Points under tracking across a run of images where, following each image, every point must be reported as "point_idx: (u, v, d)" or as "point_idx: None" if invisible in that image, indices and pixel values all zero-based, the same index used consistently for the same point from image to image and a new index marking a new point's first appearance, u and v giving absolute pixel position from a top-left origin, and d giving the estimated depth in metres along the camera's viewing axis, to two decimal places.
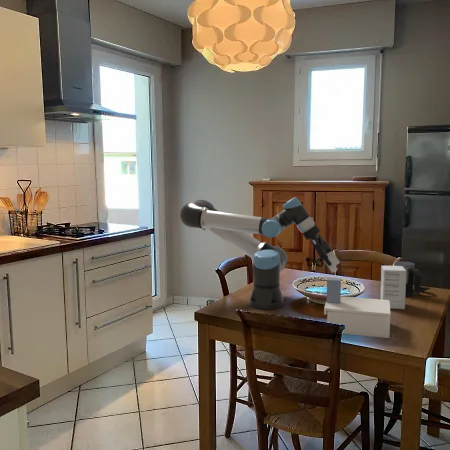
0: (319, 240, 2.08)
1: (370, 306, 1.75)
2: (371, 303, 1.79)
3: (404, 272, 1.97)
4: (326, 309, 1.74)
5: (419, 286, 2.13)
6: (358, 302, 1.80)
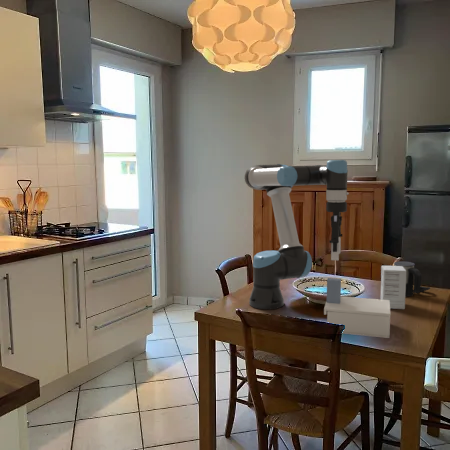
0: (339, 220, 1.75)
1: (370, 306, 1.75)
2: (371, 303, 1.79)
3: (404, 272, 1.97)
4: (326, 309, 1.74)
5: (419, 286, 2.13)
6: (358, 302, 1.80)
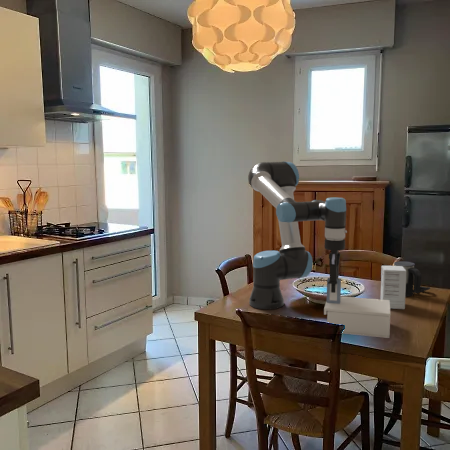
0: (337, 259, 1.76)
1: (370, 306, 1.75)
2: (371, 303, 1.79)
3: (404, 272, 1.97)
4: (326, 309, 1.74)
5: (419, 286, 2.13)
6: (358, 302, 1.80)
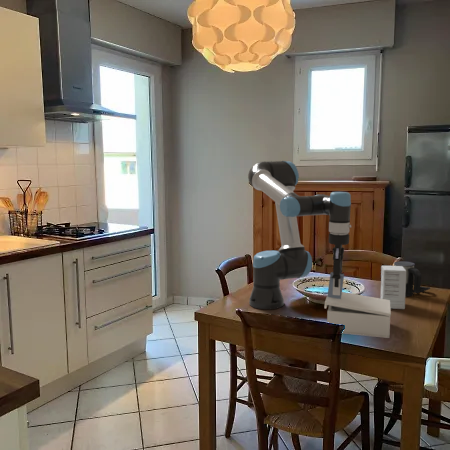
0: (341, 253, 1.75)
1: (370, 304, 1.75)
2: (371, 301, 1.79)
3: (404, 272, 1.97)
4: (327, 303, 1.74)
5: (419, 286, 2.13)
6: (359, 299, 1.80)
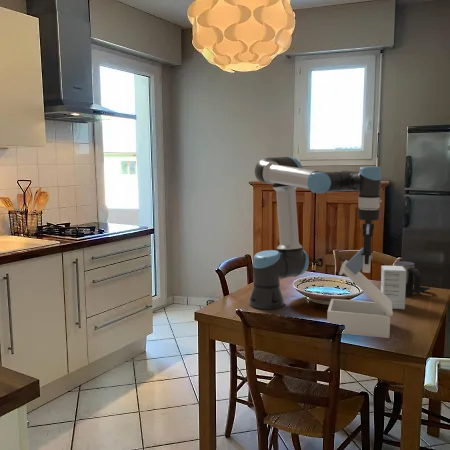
0: (371, 229, 1.71)
1: (377, 295, 1.74)
2: (378, 293, 1.78)
3: (404, 272, 1.97)
4: (344, 271, 1.70)
5: (419, 286, 2.13)
6: (369, 284, 1.78)
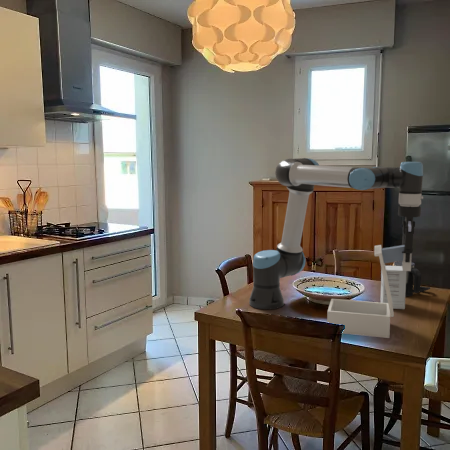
0: None
1: (389, 292, 1.73)
2: (389, 290, 1.76)
3: (404, 272, 1.97)
4: (380, 255, 1.65)
5: (419, 286, 2.13)
6: (387, 278, 1.76)
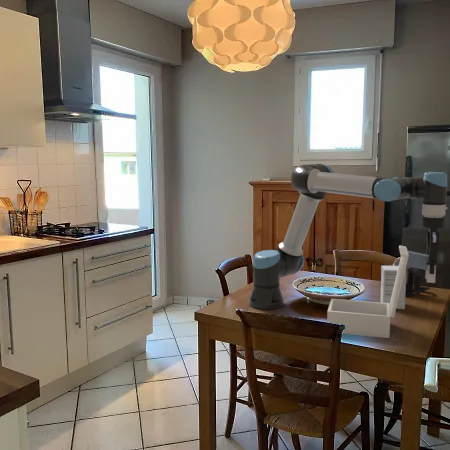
0: None
1: None
2: None
3: None
4: (406, 257, 1.63)
5: (419, 286, 2.13)
6: None
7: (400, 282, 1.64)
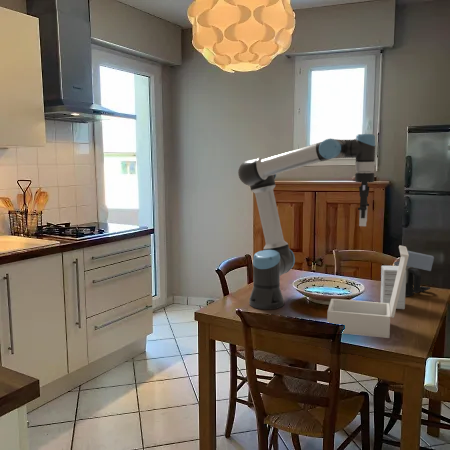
0: (367, 189, 1.91)
1: None
2: None
3: None
4: (406, 257, 1.63)
5: (419, 286, 2.13)
6: None
7: (400, 282, 1.64)
